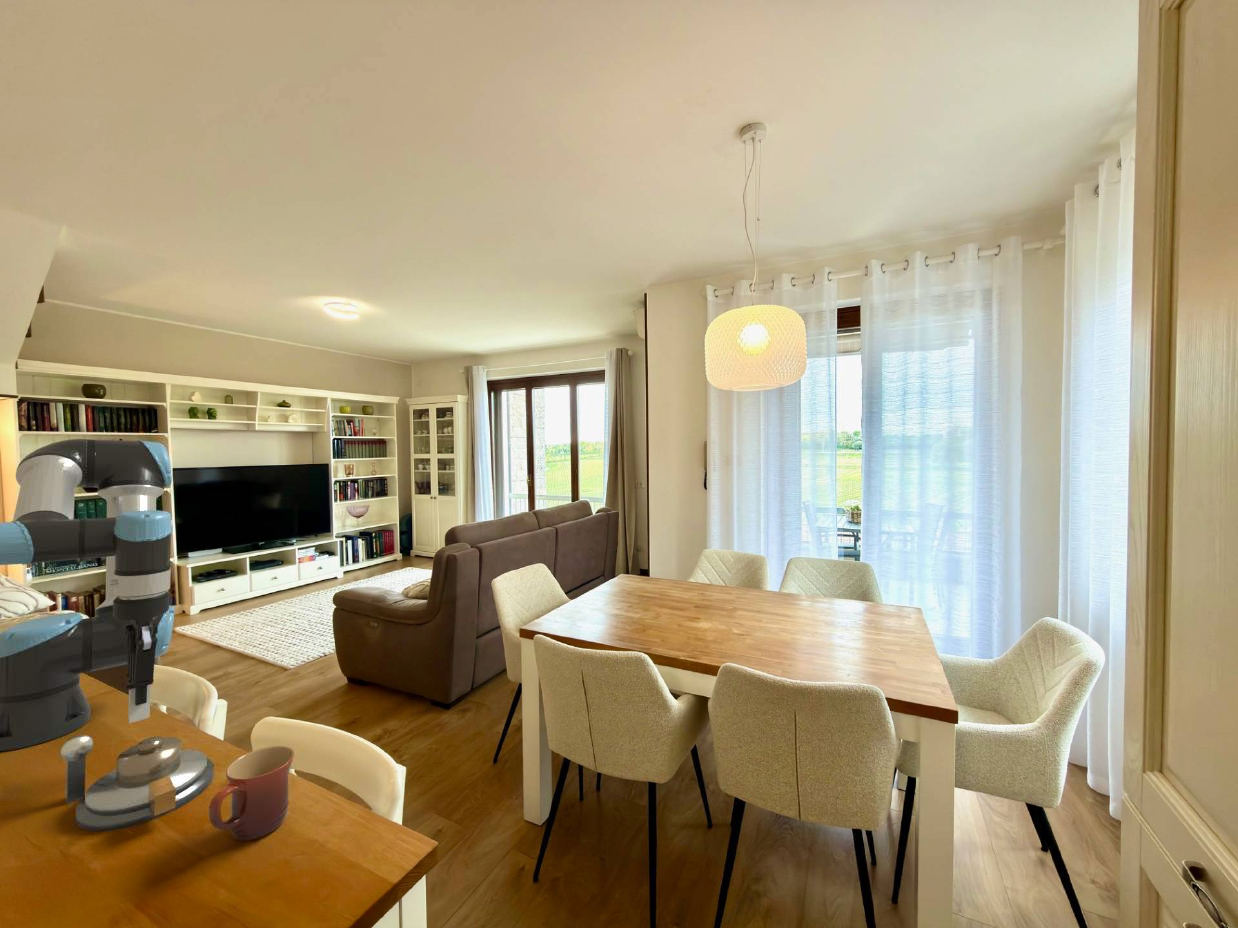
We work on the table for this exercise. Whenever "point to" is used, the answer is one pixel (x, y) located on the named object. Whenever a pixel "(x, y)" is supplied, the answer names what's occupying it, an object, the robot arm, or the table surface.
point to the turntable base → (141, 815)
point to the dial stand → (76, 765)
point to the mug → (255, 793)
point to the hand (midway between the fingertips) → (139, 718)
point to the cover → (148, 761)
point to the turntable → (145, 789)
